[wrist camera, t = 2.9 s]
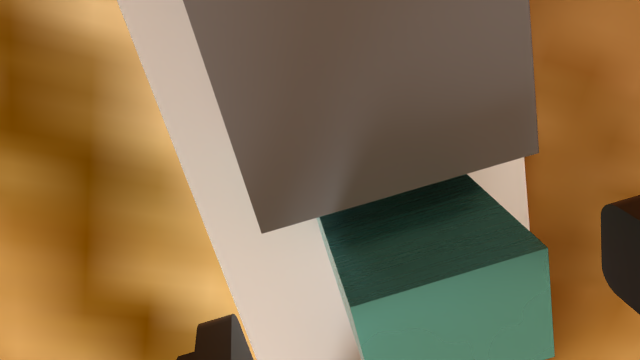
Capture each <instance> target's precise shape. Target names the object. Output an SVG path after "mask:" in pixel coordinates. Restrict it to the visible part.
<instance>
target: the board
mask: <svg viewBox="0 0 640 360" xmlns="http://www.w3.org/2000/svg"><path fill="white" fill-rule="evenodd" d="M117 2H118V4H119V7H120V9H121V12H122V15H123V17H124V20H125V22H126V25H127V27H128V30H129V33H130V35H131V38H132V40H133V43H134V45H135V48H136V51H137V53H138V56H139V58H140V61H141V63H142V66H143V68H144V71H145V74H146V76H147V79H148V81H149V84H150V86H151V89H152V92H153V94H154V97H155V99H156V102H157V104H158V107H159V110H160V112H161V115H162V117H163V120H164V122H165V125H166V128H167V130H168V133H169V135H170V138H171V140H172V143H173V145H174V148H175V151H176V153H177V156H178V158H179V161H180V163H181V166H182V169H183V171H184V174H185V176H186V179H187V181H188V184H189V187H190V189H191V192H192V194H193V197H194V199H195V202H196V205H197V207H198V210H199V212H200V215H201V217H202V220H203V222H204V225H205V228H206V230H207V233H208V235H209V238H210V240H211V243H212V246H213V248H214V251H215V253H216V256H217V258H218V261H219V264H220V266H221V269H222V271H223V274H224V276H225V279H226V282H227V284H228V287H229V289H230V292H231V294H232V297H233V299H234V302H235V305H236V307H237V310H238V312H239V315H240V317H241V320H242V323H243V325H244V328H245V330H246V333H247V335H248V338H249V341H250V343H251V346H252V348H253V351H254V353H255V356H256V359H257V360H362V359H361V356H360V353H359V350H358V347H357V344H356V341H355V338H354V335H353V332H352V329H351V325H350V322H349V319H348V316H347V313H346V310H345V307H344V304H343V301H342V298H341V295H340V291H339V288H338V285H337V282H336V279H335V276H334V273H333V270H332V267H331V264H330V260H329V257H328V254H327V251H326V248H325V245H324V242H323V239H322V235H321V232H320V228H319V225H318V221H317V218H318V217H321V216H325V215H328V214H332V213H335V212H338V211H342V210H345V209H349V208H352V207H355V206H359V205H362V204H366V203H369V202H373V201H376V200H379V199H383V198H386V197H390V196H393V195H396V194H400V193H403V192H407V191H410V190H414V189H417V188H420V187H424V186H427V185H431V184H434V183H437V182H441V181H444V180H448V179H451V178H455V177H458V176H461V175H465V174H467V175H469V176H470V177H471V178H472V179H473V180H474V181H475V182H476V183H477V184H478V185H479V186H481V187H482V188H483V189H484V190H485V191H486V192H487V193H488V194H489V195H490V196H492V197H493V198H494V199H495V200H496V201H497V202H498V203H499V204H500V205H501V206H503V207H504V208H505V209H506V210H507V211H508V212H509V213H510V214H511V215H512V216H513V217H515V218H516V219H517V220H518V221H519V222H520V223H521V224H522V225H523V226H524V227H526V228H527V229H528V230H529V231H530V227H529V214H528V202H527V189H526V176H525V163H524V157H526V156H530V155H533V154H537V153H539V146H538V131H537V115H536V100H535V84H534V69H533V53H532V38H531V22H530V7H529V0H117Z"/></svg>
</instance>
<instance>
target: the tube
mask: <svg viewBox="0 0 640 360" xmlns="http://www.w3.org/2000/svg"><path fill="white" fill-rule="evenodd" d="M317 221H318V225H319V228H320V232H321V235H322V239H323V242H324V245H325V248H326V251H327V254H328V257H329V260H330V264H331V267H332V270H333V273H334V276H335V279H336V282H337V285H338V288H339V291H340V295H341V298H342V301H343V304H344V307H345V310H346V313H347V316H348V319H349V322H350V325H351V329H352V332H353V335H354V338H355V341H356V344H357V347H358V350H359V353H360V356H361V359H362V360H545V359H549V358H552V357H555V354H554V338H553V322H552V305H551V289H550V273H549V257H548V248H547V247H546V246H545V245H544V244H543V243H542V242H541V241H540V240H539V239H538V238H537V237H535V236H534V235H533V234H532V233H531V232H530V231H529V230H528V229H527V228H526V227H524V226H523V225H522V224H521V223H520V222H519V221H518V220H517V219H516V218H515V217H513V216H512V215H511V214H510V213H509V212H508V211H507V210H506V209H505V208H504V207H503V206H501V205H500V204H499V203H498V202H497V201H496V200H495V199H494V198H493V197H492V196H490V195H489V194H488V193H487V192H486V191H485V190H484V189H483V188H482V187H481V186H479V185H478V184H477V183H476V182H475V181H474V180H473V179H472V178H471V177H470V176H469V175H467V174H465V175H461V176H458V177H455V178H451V179H448V180H444V181H441V182H437V183H434V184H431V185H427V186H424V187H420V188H417V189H414V190H410V191H407V192H403V193H400V194H396V195H393V196H390V197H386V198H383V199H379V200H376V201H373V202H369V203H366V204H362V205H359V206H355V207H352V208H349V209H345V210H342V211H338V212H335V213H332V214H328V215H325V216H321V217H318V218H317Z"/></svg>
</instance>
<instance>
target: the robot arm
mask: <svg viewBox="0 0 640 360" xmlns="http://www.w3.org/2000/svg"><path fill="white" fill-rule="evenodd" d="M601 249H602V270H603V274H604V276H605V279H606V281H607V283H608V285H609V286H610V288H611V289H612V290H613V292H614V293H615V294H616V295H617V296H619V297H620V298H621V299H622V300H623V301H624V302H626V303H627V304H628V305H629V306H630V307H631V308H633V309H634V310H635V311H636V312H637V313H638V314H640V195H638V196H635V197H631V198H628V199H625V200H621V201H618V202H614V203H611V204H608V205H605V206H604V207H603V209H602V212H601ZM176 360H253V358H252V355H251V352H250V350H249V347H248V345H247V342H246V339H245V337H244V334H243V332H242V329H241V326H240V324H239V321H238V319H237V317H236V316H235V314H231V315H228V316H225V317H221V318H218V319H214V320H211V321H208V322H204V323H201V324H199V325H198V327H197V335H196V344H195V352H192V353H188V354H185V355H182V356H178V358H177V359H176Z"/></svg>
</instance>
